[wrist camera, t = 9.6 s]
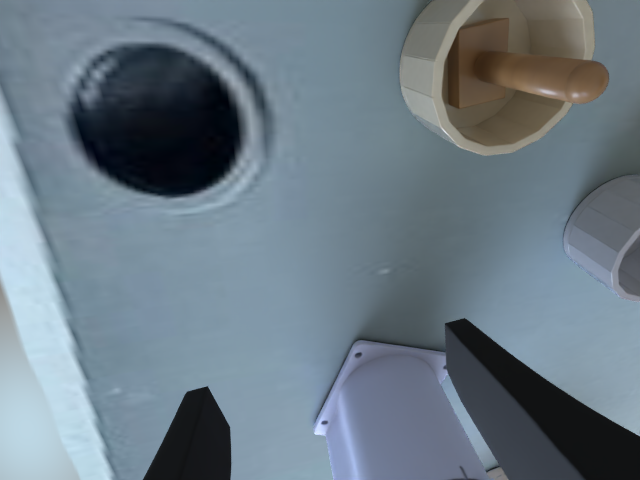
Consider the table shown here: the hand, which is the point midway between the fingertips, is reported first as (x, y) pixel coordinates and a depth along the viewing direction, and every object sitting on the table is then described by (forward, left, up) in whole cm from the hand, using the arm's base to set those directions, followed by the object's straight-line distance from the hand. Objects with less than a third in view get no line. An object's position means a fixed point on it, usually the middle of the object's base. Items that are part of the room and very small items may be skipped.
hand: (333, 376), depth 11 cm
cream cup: (+10, -5, -10) cm, 15 cm away
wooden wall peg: (+10, -5, -10) cm, 15 cm away
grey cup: (+5, -19, -10) cm, 22 cm away
